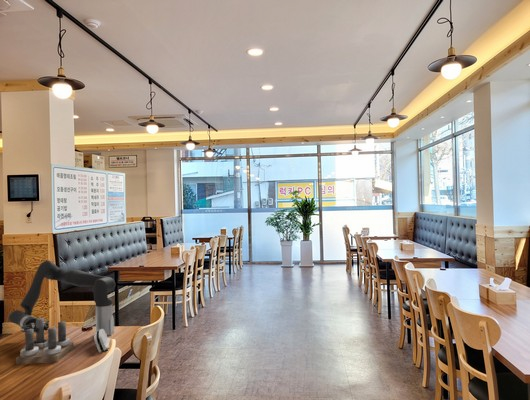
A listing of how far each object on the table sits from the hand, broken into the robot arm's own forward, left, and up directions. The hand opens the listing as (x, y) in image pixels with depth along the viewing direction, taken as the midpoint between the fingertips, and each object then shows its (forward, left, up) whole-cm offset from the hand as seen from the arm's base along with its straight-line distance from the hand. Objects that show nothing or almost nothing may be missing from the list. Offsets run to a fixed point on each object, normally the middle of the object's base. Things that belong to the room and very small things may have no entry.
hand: (42, 329), depth 197 cm
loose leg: (+2, -2, -7) cm, 8 cm away
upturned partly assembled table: (-4, +4, -12) cm, 13 cm away
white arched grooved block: (-28, -5, -13) cm, 32 cm away
